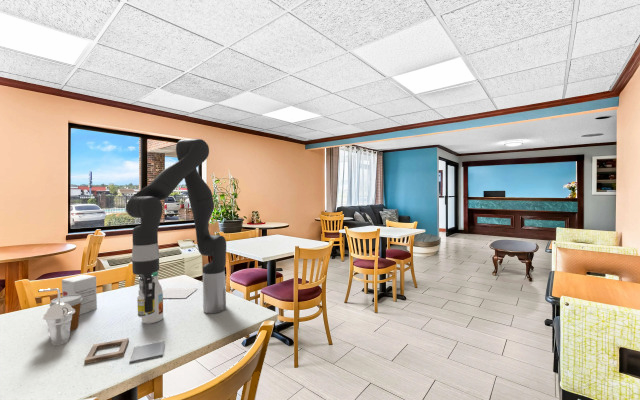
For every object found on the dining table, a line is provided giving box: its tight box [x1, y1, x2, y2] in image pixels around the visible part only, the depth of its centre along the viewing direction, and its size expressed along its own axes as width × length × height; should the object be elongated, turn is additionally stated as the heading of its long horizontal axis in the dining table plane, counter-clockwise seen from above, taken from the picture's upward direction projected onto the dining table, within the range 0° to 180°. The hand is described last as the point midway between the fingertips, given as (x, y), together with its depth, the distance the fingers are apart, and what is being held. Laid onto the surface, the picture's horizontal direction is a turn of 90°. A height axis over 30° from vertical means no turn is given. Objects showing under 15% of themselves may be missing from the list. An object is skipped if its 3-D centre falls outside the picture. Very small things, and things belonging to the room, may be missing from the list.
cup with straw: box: [38, 287, 75, 346], centre depth 102 cm, size 8×9×20 cm
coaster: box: [129, 341, 165, 364], centre depth 95 cm, size 9×9×1 cm
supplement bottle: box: [136, 289, 155, 318], centre depth 94 cm, size 5×5×8 cm
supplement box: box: [61, 274, 98, 316], centre depth 128 cm, size 9×9×15 cm
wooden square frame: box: [83, 337, 130, 365], centre depth 96 cm, size 10×10×1 cm
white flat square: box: [162, 287, 198, 299], centre depth 145 cm, size 23×25×1 cm
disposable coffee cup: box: [49, 294, 82, 332], centre depth 111 cm, size 10×10×12 cm
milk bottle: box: [141, 271, 164, 325], centre depth 119 cm, size 8×8×20 cm
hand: (147, 308), depth 95 cm, fingers closed on supplement bottle, 4 cm apart
